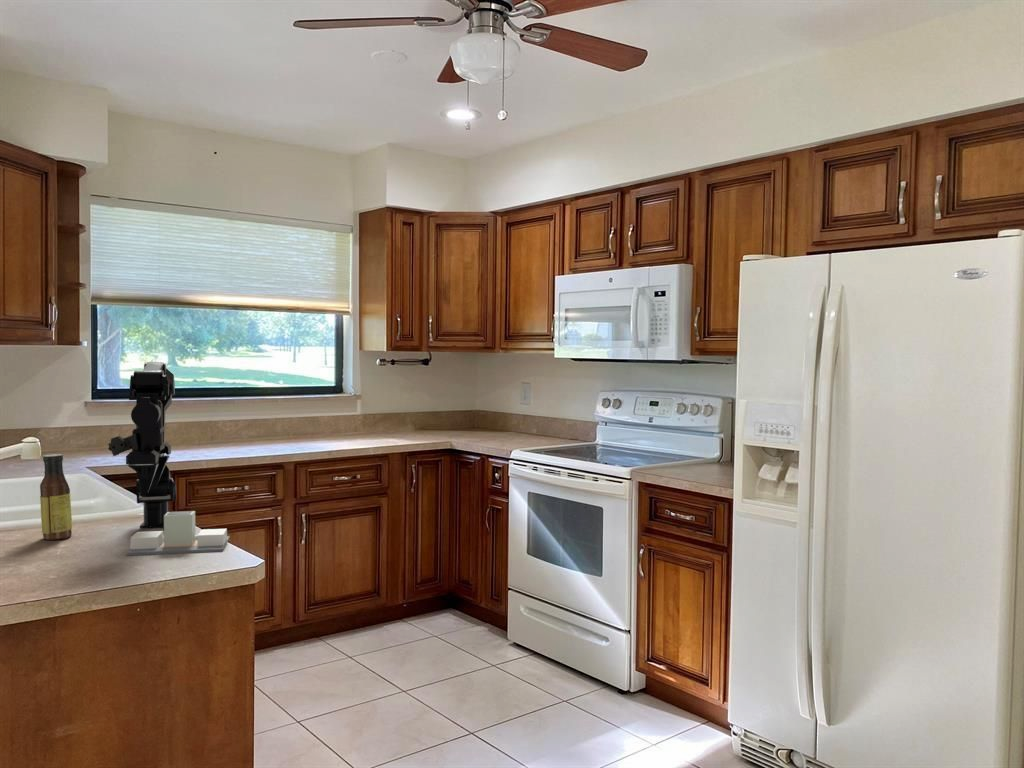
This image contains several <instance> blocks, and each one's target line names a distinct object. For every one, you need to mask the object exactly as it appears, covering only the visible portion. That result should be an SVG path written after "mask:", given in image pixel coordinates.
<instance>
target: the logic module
mask: <svg viewBox="0 0 1024 768" xmlns="http://www.w3.org/2000/svg"><path fill="white" fill-rule="evenodd" d="M195 535H196V510H190V511H189V510H186V511H185V510H183V511H168V512H167V513H166V514H165V515H164V527H163V536H164V546H184V545H193V544H194V542H195Z"/></svg>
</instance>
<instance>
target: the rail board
mask: <svg viewBox="0 0 1024 768" xmlns="http://www.w3.org/2000/svg"><path fill="white" fill-rule="evenodd" d="M229 540H230V535H228V528H207V529H206V528H205V529H201V530H200V531H199V532H198V534H195V542H194V544H193V545H184V546H164V530H158V531H157V530H155V531H154V530H153V531H152V530H151V531H137V532H135V534H132V536H131V537H130V548H129V550H127V551H126V555H125V556H141V555H142V556H146V555H148V556H149V555H163V554H164V555H166V554H167V555H168V554H170V555H171V554H186V553H187V554H189V553H191V554H192V553H193V554H194V553H210V552H211V553H213V552H223V551H225V548H226V546H227V544H228V542H229ZM226 543H227V544H226Z"/></svg>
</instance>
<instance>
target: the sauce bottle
mask: <svg viewBox="0 0 1024 768" xmlns="http://www.w3.org/2000/svg"><path fill="white" fill-rule="evenodd" d="M42 459H43V460H42V461H43V463H44V464H43V465H44V476H43V478H42V480H41V482H40V485H39V491H40V493H39V495H40V496H39V499H40V500H39V502H40V517H41V519H40V520H41V533H42V534H43V535H42V537H43V539H44V540H46V541H47V540H49V541H56V540H57V541H58V540H63V539H67V538H70V537H71V536H72V534H73V533H72V532H73V531H72V530H73V518H72V517H73V516H72V503H71V501H72V499H71V488H70V486H69V484H68V481H67V479H66V476H65V474H64V469H63V461H64V455H63V454H60V453H52V454H46V455H43V456H42Z"/></svg>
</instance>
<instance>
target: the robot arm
mask: <svg viewBox="0 0 1024 768" xmlns="http://www.w3.org/2000/svg"><path fill="white" fill-rule="evenodd" d="M166 364H167V363H166V362H163V361H160V362H159V361H147V362H144V364H143V369H142V370H134V371H133V374H131V375H130V380H129V392H128V400H129V401H136V402H135V405H134V407H133V408H132V410H131V412H130V417H131V418H130V419H131V420H132V422H133V424H134V425H135V428H133V430H132V431H131V432H132V433H131V434H132V435H129V436H126V437H122V436H120V435H117V436H115V437H112V438H110V442H109V443H108V444H107V445H108V451H110V452H111V454H112V456H113V457H116V456H118V455H119V454H123V453H125V452H127V451H130V450H131V451H130V452H129V453H127V455H125V464H126V465H127V467H129V468H130V469H132V470H133V471H134V472H135V473H136V475H137V479H136V483H135V484H136V486H135V487H136V488H135V491H136V504H143V522H142V523H141V524H140V525H139V528H140V529H141V528H164V515H165V514H166V513H167V512H169V502H172V503H173V501H177V483H176V482H175V481H174V479H173V477H171V471H170V469H169V467H168V465H167V463H168V461H169V458H170V455H171V454H172V446H171V444H170V443H168V442H167V441H165V439H166V438H165V437H166V411H167V410H168V409H169V407H170V406H172V405H171V404H172V403H173V402H172V401H173V396H175V389H176V384H175V383H176V382H175V375H174V373H173V372H171V370H169V369H168V368H167V365H166Z"/></svg>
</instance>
